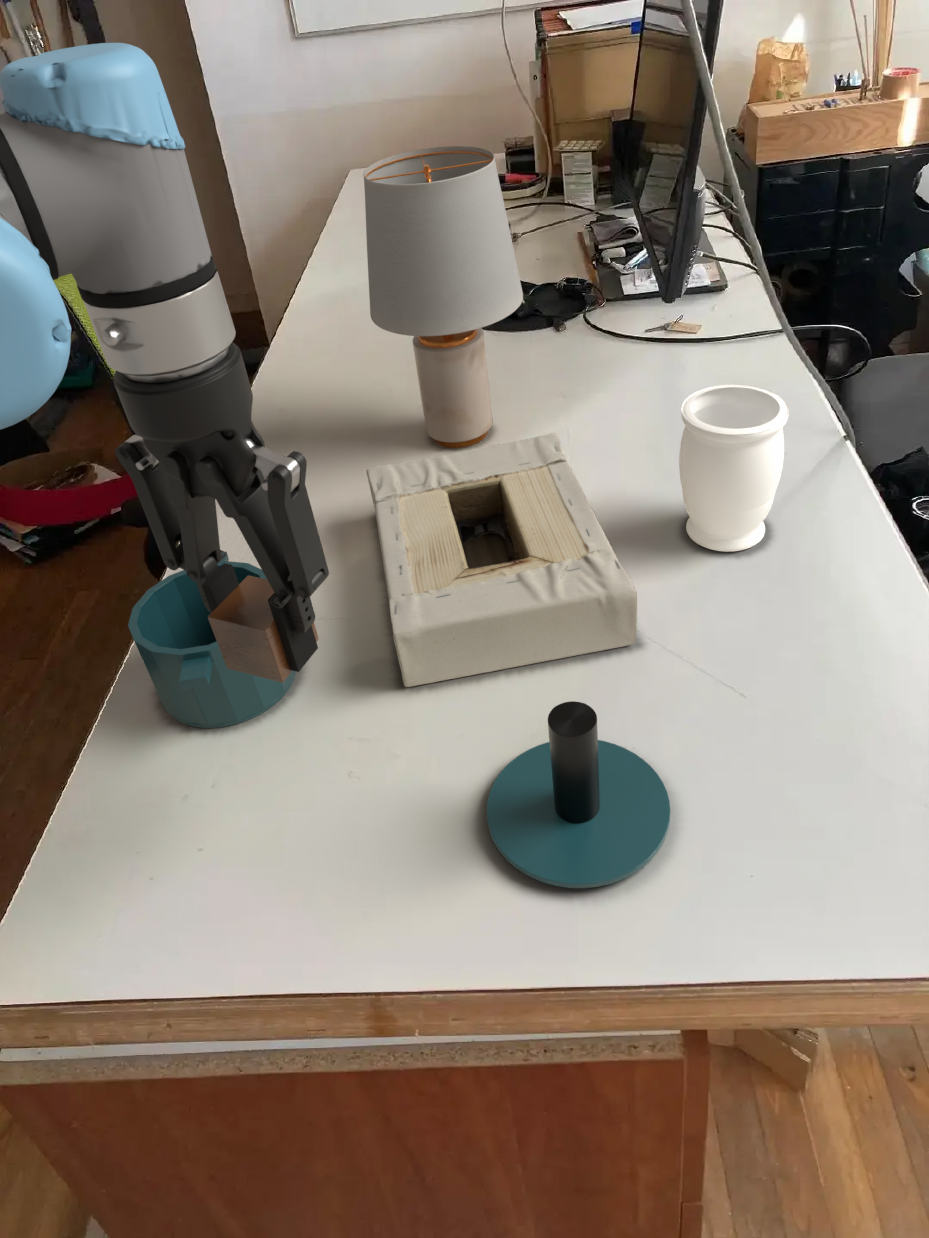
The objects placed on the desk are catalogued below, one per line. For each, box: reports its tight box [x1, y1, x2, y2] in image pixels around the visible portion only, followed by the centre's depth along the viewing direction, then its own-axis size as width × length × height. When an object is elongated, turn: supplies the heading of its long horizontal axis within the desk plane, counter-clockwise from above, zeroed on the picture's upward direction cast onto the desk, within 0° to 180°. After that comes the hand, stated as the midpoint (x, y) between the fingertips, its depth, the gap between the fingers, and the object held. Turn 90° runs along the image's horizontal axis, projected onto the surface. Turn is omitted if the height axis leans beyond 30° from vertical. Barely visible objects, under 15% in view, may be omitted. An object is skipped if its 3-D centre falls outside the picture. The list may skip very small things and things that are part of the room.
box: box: [366, 432, 638, 688], centre depth 99 cm, size 23×8×32 cm
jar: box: [678, 384, 789, 553], centre depth 97 cm, size 11×10×15 cm
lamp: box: [362, 145, 524, 449], centre depth 115 cm, size 19×19×34 cm
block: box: [208, 576, 319, 683], centre depth 68 cm, size 5×5×5 cm
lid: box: [486, 700, 671, 889], centre depth 72 cm, size 15×15×11 cm
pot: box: [127, 550, 298, 729], centre depth 90 cm, size 14×19×10 cm
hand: (272, 650), depth 69 cm, fingers closed on block, 5 cm apart
